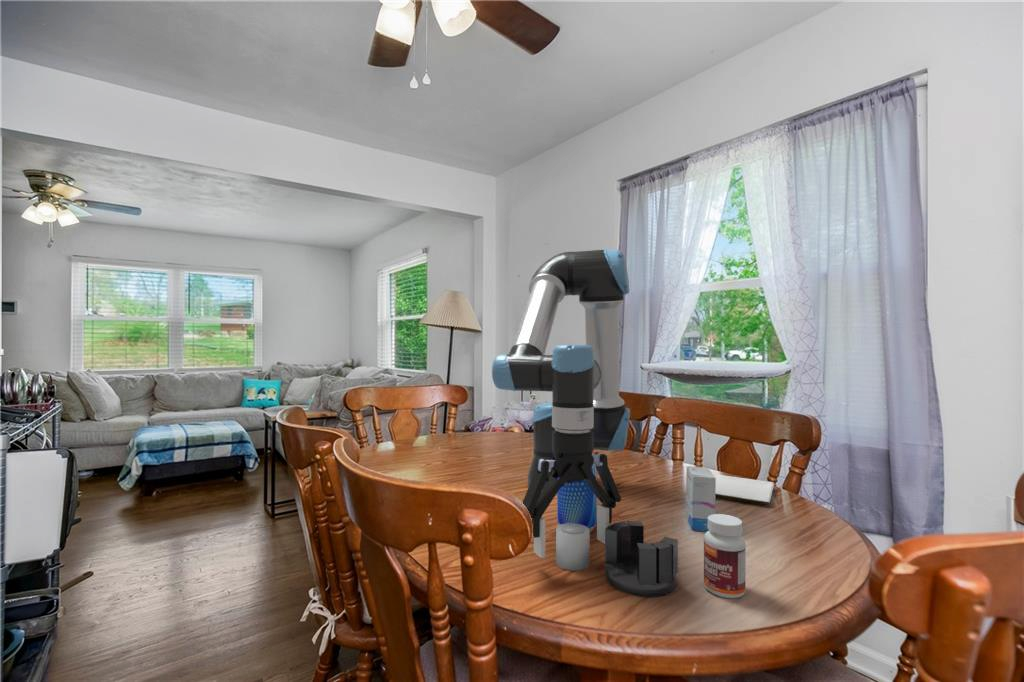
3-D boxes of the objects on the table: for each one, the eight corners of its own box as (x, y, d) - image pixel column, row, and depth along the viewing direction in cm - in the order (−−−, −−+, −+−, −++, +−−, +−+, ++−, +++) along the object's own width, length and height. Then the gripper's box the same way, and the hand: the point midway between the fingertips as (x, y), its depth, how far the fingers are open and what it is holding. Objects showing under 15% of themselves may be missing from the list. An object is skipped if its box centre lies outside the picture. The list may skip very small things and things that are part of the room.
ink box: (716, 533, 99) (716, 476, 99) (691, 531, 100) (691, 475, 100) (708, 518, 108) (708, 466, 108) (685, 516, 109) (685, 465, 109)
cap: (549, 558, 87) (550, 524, 87) (577, 552, 90) (577, 519, 90) (567, 573, 82) (567, 536, 82) (596, 566, 84) (596, 531, 84)
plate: (774, 489, 130) (774, 482, 130) (769, 509, 114) (769, 501, 114) (702, 479, 140) (702, 472, 140) (688, 496, 124) (688, 488, 124)
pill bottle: (698, 590, 76) (698, 520, 76) (710, 576, 81) (710, 509, 81) (739, 604, 72) (739, 529, 72) (750, 588, 77) (750, 518, 77)
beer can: (601, 524, 104) (601, 451, 104) (590, 538, 96) (590, 459, 96) (564, 518, 107) (564, 447, 108) (551, 531, 100) (551, 455, 100)
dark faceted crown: (591, 570, 82) (591, 527, 82) (643, 557, 87) (643, 517, 88) (636, 603, 72) (636, 554, 72) (692, 586, 77) (692, 540, 77)
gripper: (520, 438, 77) (520, 570, 76) (640, 428, 88) (640, 543, 87) (501, 431, 84) (500, 552, 83) (614, 422, 95) (614, 529, 94)
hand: (572, 548), depth 85 cm, fingers open, 13 cm apart
